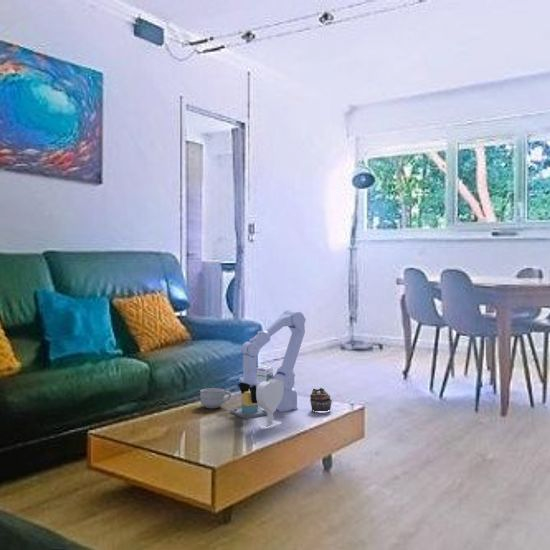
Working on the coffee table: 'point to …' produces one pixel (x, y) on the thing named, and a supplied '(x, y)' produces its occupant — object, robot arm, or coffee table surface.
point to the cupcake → (320, 400)
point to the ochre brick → (247, 399)
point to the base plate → (248, 415)
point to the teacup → (213, 397)
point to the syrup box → (264, 373)
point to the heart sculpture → (270, 397)
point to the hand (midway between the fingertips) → (249, 401)
